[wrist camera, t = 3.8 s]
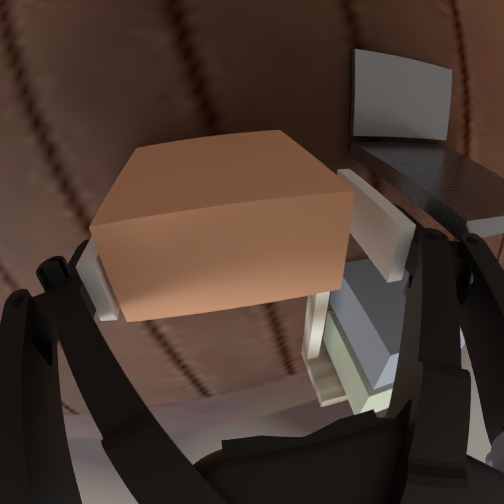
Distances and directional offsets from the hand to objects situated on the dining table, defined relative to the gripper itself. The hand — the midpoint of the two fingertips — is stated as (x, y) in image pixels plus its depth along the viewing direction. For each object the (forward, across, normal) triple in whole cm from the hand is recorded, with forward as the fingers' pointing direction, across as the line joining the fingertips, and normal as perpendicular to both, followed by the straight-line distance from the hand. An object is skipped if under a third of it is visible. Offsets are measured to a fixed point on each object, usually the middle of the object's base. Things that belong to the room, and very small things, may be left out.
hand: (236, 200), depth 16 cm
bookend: (+4, +13, +5) cm, 14 cm away
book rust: (+4, -1, +1) cm, 4 cm away
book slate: (+5, +13, -11) cm, 17 cm away
